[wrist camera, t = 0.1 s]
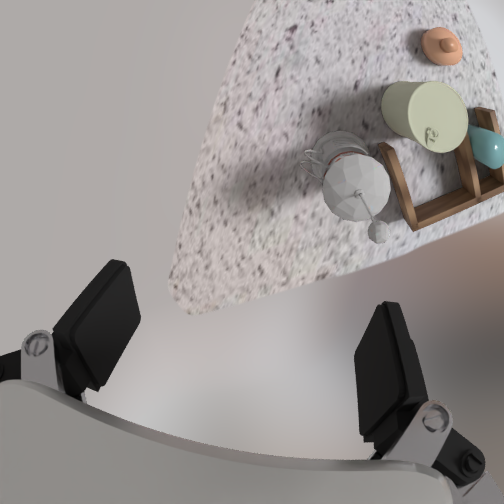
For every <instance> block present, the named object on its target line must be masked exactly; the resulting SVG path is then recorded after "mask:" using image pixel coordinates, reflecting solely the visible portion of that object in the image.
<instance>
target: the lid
mask: <svg viewBox="0 0 504 504" xmlns="http://www.w3.org/2000/svg"><path fill="white" fill-rule="evenodd" d="M421 46H422V50H423V52H424V54H425V55H426V56H427V58H428V59H429V60H430V61H432V62H433V63H435V64H437V65H440V66H447V65H455V64H457V63H458V62H459V61H460V60H461V58H462V47H461V44H460V42H459V40H458V38H457V37H456V36H455V35H454V34H453V33H452V32H451V31H449V30H448V29H446V28H442V27H436V28H433V29H431V30H428V31H426V32H425V33H424V34H423V35H422V37H421Z"/></svg>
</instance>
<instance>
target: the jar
mask: <svg viewBox="0 0 504 504" xmlns="http://www.w3.org/2000/svg"><path fill="white" fill-rule="evenodd" d="M467 132H468V136H469V140H470V144H471V147H472V152H473V156H474V159H476V160H478V161H479V162H481V163H483V164H485V165H486V166H488V167H490V168H492V169H497V168H500V167H501V166H502V165H503V164H504V138H503V137H502V136H501V135H500V134H498V133H495V132H492V131H489V130H487V129H484V128H481V127H478V126H475V125H472V124H468V128H467Z"/></svg>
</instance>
